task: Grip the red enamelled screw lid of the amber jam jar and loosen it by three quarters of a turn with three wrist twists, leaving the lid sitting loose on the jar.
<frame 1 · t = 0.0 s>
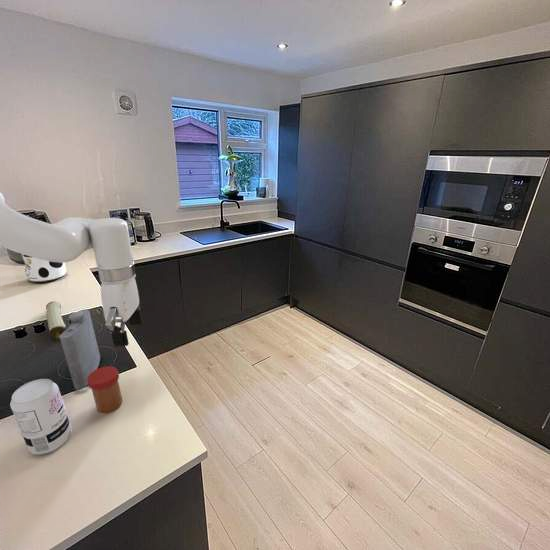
hand: (129, 334, 74), 20 cm above the worktop, tool pointing down, fingers open, 9 cm apart
supplement can: (51, 440, 67), on the worktop
rolling pin: (57, 324, 114), on the worktop
jam lid: (103, 376, 74), point 10 cm above the worktop, screwed on, not yet turned
jam jar: (110, 404, 77), on the worktop
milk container: (48, 278, 155), on the worktop
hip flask: (90, 371, 89), on the worktop
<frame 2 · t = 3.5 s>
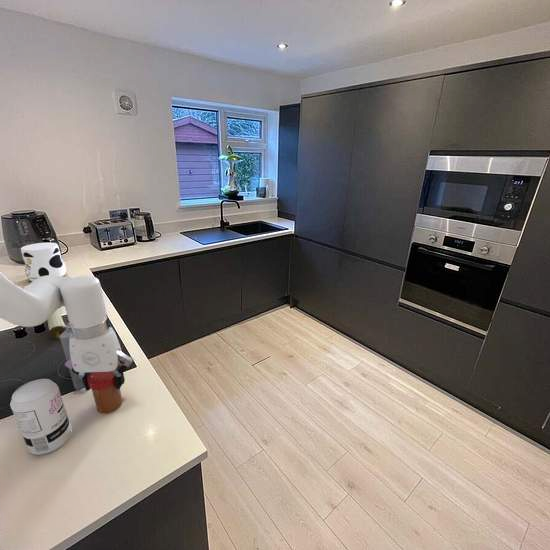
hand: (105, 385, 75), 7 cm above the worktop, tool pointing down, fingers closed on jam lid, 6 cm apart
jam lid: (103, 376, 74), point 10 cm above the worktop, screwed on, not yet turned, touching gripper
everything else where it was.
when the fingers open (6 cm above the worktop, at t = 6.2 s): jam lid stays where it is, point 10 cm above the worktop.
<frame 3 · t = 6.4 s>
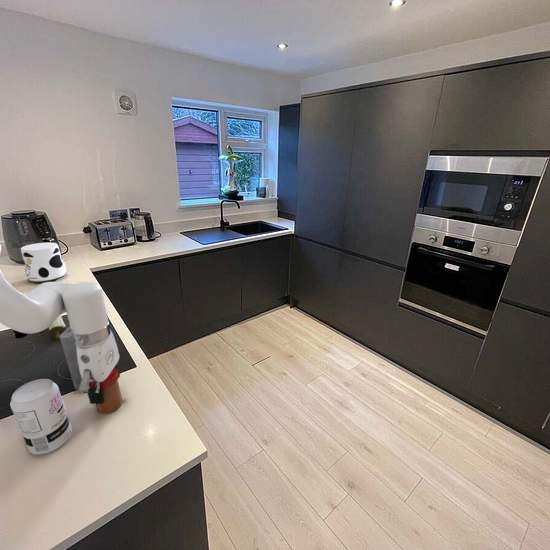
hand: (106, 389, 75), 5 cm above the worktop, tool pointing down, fingers open, 8 cm apart
jam lid: (102, 375, 74), point 10 cm above the worktop, turned 90° so far, risen 0.1 cm, still on its thread
everything else where it was.
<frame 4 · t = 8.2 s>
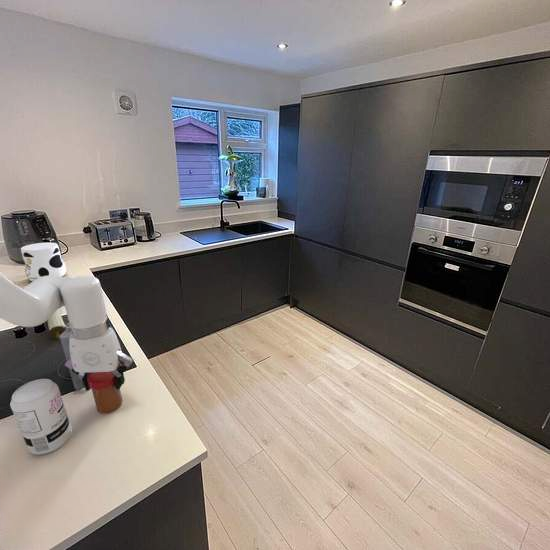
hand: (105, 385, 75), 7 cm above the worktop, tool pointing down, fingers closed on jam lid, 6 cm apart
jam lid: (102, 375, 74), point 10 cm above the worktop, turned 90° so far, risen 0.1 cm, still on its thread, touching gripper
everything else where it was.
when the fingers open (6 cm above the worktop, at t = 10.6 s): jam lid stays where it is, point 10 cm above the worktop.
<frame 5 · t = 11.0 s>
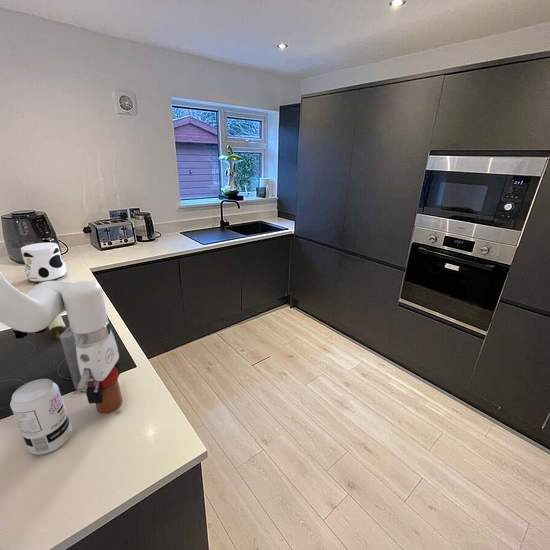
hand: (105, 387, 75), 6 cm above the worktop, tool pointing down, fingers open, 9 cm apart
jam lid: (102, 375, 73), point 10 cm above the worktop, turned 180° so far, risen 0.2 cm, still on its thread
everything else where it was.
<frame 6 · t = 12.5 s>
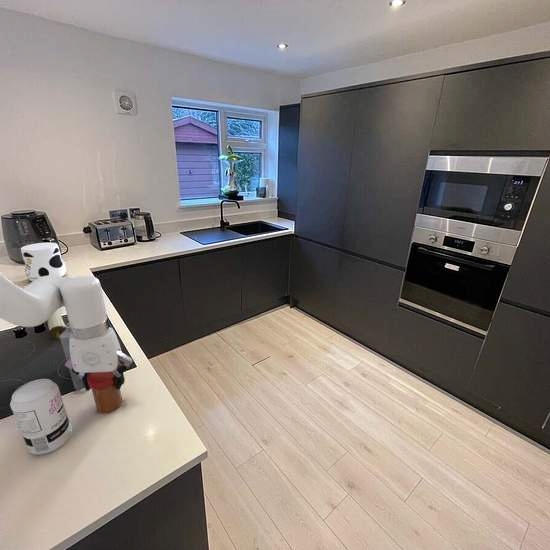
hand: (105, 385, 75), 7 cm above the worktop, tool pointing down, fingers closed on jam lid, 6 cm apart
jam lid: (102, 375, 73), point 10 cm above the worktop, turned 180° so far, risen 0.2 cm, still on its thread, touching gripper
everything else where it was.
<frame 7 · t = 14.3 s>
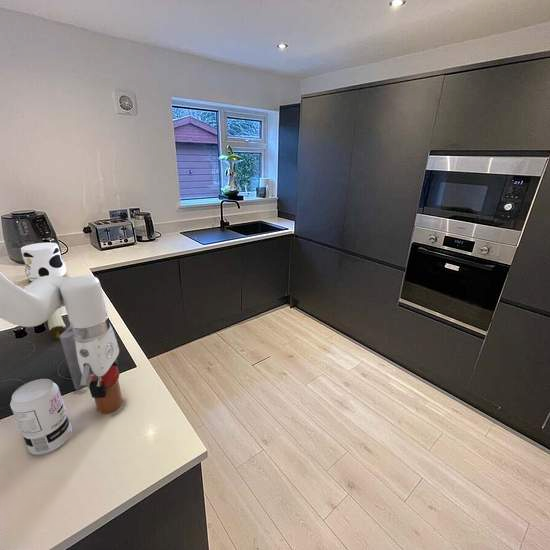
hand: (106, 385, 75), 7 cm above the worktop, tool pointing down, fingers closed on jam lid, 6 cm apart
jam lid: (103, 374, 73), point 10 cm above the worktop, turned 269° so far, risen 0.4 cm, still on its thread, touching gripper
everything else where it was.
when the fingers open (6 cm above the worktop, at t = 15.0 s): jam lid stays where it is, point 10 cm above the worktop.
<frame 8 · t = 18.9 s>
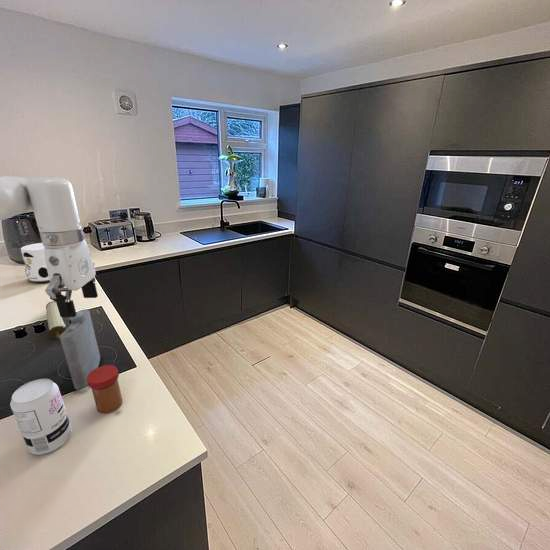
hand: (80, 306, 69), 28 cm above the worktop, tool pointing down, fingers open, 9 cm apart
jam lid: (102, 374, 73), point 10 cm above the worktop, turned 269° so far, risen 0.4 cm, still on its thread
everything else where it was.
at the end: jam lid turned 0.75 turns (still on its thread); jam lid is still on its thread (0.75 turns); the gripper is holding nothing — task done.
